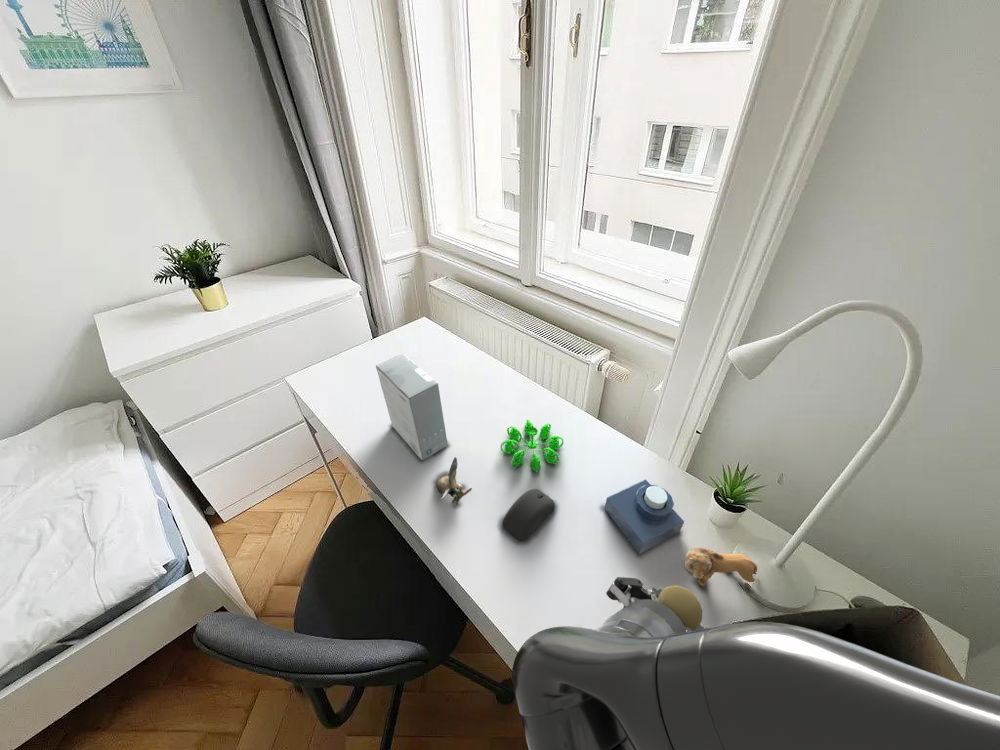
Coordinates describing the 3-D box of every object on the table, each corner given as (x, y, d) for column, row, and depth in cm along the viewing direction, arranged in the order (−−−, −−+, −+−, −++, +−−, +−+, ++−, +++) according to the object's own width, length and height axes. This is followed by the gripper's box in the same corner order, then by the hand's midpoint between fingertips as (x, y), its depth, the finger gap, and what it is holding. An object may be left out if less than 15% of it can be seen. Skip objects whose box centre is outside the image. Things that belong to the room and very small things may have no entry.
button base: (681, 531, 81) (689, 514, 77) (639, 554, 78) (645, 538, 74) (643, 489, 89) (649, 472, 85) (604, 508, 85) (608, 491, 81)
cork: (689, 628, 57) (713, 592, 50) (680, 672, 53) (705, 640, 46) (646, 605, 60) (663, 568, 53) (634, 646, 56) (651, 612, 49)
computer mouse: (557, 507, 86) (558, 496, 83) (522, 544, 80) (522, 533, 77) (534, 490, 89) (535, 478, 87) (499, 524, 83) (498, 513, 80)
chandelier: (487, 454, 97) (486, 434, 93) (525, 419, 106) (526, 399, 102) (538, 487, 90) (540, 467, 85) (575, 446, 98) (578, 427, 94)
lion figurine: (682, 596, 72) (697, 572, 66) (670, 566, 76) (683, 541, 70) (763, 587, 72) (784, 563, 67) (746, 558, 76) (765, 533, 71)
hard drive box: (449, 445, 100) (439, 383, 87) (422, 461, 96) (408, 400, 83) (416, 412, 109) (403, 352, 96) (390, 425, 105) (373, 365, 93)
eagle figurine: (481, 491, 88) (463, 458, 93) (464, 486, 82) (447, 451, 87) (454, 512, 89) (438, 478, 94) (436, 509, 83) (420, 472, 88)
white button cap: (669, 504, 79) (672, 498, 78) (653, 512, 78) (655, 506, 77) (655, 489, 82) (657, 482, 81) (639, 496, 81) (641, 490, 80)
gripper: (735, 688, 36) (748, 637, 49) (605, 565, 44) (646, 550, 58) (686, 751, 37) (712, 685, 50) (567, 618, 45) (617, 592, 59)
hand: (677, 613), depth 54 cm, fingers closed on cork, 5 cm apart
